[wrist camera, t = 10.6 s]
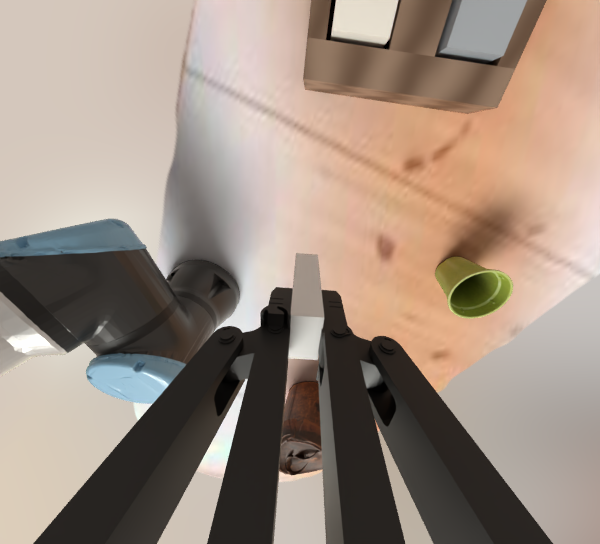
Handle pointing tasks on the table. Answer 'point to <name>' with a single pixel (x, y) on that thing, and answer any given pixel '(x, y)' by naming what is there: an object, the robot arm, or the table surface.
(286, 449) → the brown tapered cylinder
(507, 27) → the slate key
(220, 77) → the table surface
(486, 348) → the table surface
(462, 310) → the plant pot
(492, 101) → the key block
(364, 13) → the cream key
